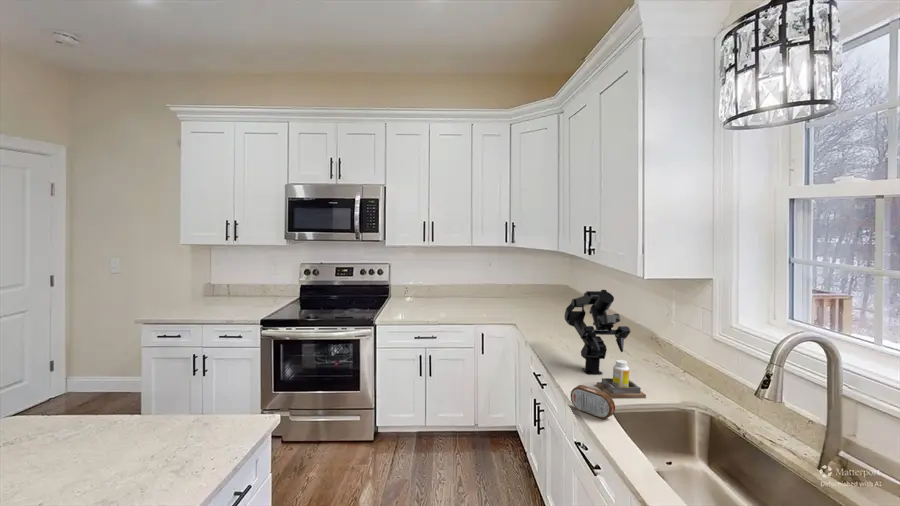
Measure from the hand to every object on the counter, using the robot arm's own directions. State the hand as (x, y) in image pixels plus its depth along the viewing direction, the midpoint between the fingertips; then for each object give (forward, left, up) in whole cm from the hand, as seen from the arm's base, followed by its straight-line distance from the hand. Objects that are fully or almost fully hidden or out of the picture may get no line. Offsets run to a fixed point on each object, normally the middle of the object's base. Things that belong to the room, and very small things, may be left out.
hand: (610, 351), depth 171 cm
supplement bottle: (+5, +2, -12) cm, 14 cm away
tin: (+25, -17, -14) cm, 33 cm away
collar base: (+5, +2, -14) cm, 15 cm away
